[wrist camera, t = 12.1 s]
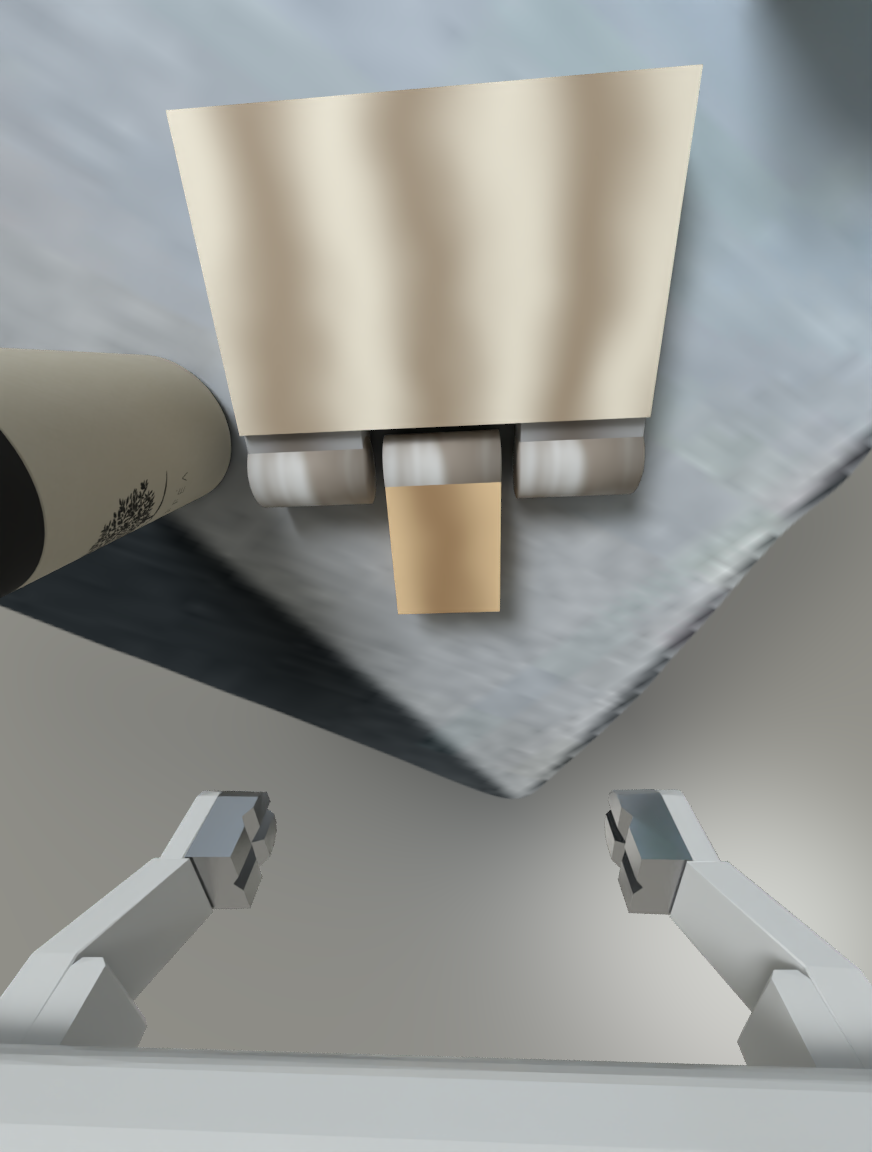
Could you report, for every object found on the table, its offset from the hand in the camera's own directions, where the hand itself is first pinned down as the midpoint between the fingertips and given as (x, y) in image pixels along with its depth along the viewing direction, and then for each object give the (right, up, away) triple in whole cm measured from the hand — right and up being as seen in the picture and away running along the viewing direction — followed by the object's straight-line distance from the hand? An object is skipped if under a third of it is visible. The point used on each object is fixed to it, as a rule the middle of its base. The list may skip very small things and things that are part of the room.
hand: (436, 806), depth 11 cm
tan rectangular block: (+1, +9, +16) cm, 19 cm away
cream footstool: (0, +18, +12) cm, 22 cm away
